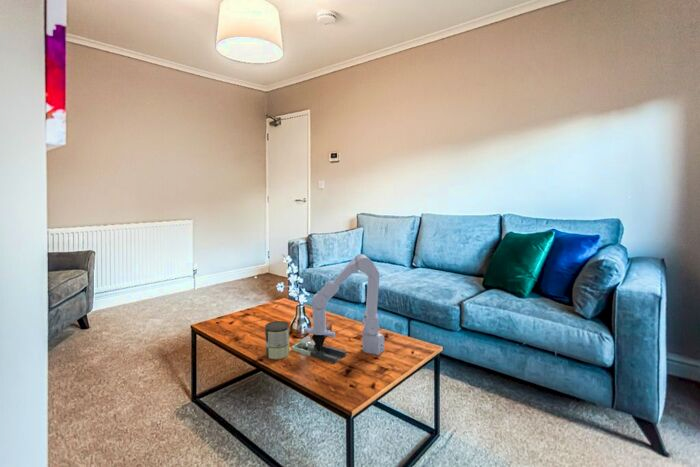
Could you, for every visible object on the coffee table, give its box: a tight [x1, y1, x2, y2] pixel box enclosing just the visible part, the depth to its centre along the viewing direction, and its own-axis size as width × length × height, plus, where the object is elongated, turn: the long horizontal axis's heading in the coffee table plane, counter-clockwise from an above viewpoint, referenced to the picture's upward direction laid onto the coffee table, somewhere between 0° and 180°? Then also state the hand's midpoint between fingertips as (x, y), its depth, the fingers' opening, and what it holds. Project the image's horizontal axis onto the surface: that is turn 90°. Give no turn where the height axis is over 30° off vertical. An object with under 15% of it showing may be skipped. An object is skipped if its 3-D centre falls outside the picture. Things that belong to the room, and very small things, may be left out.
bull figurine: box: [326, 320, 333, 332], centre depth 181 cm, size 4×13×8 cm, turn 152°
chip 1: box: [297, 335, 313, 350], centre depth 169 cm, size 4×4×4 cm
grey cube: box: [306, 339, 317, 352], centre depth 166 cm, size 4×4×4 cm
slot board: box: [310, 344, 347, 364], centre depth 161 cm, size 13×9×3 cm
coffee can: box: [264, 320, 290, 360], centre depth 162 cm, size 10×10×14 cm
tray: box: [291, 342, 312, 357], centre depth 168 cm, size 11×9×2 cm
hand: (319, 350), depth 164 cm, fingers closed
